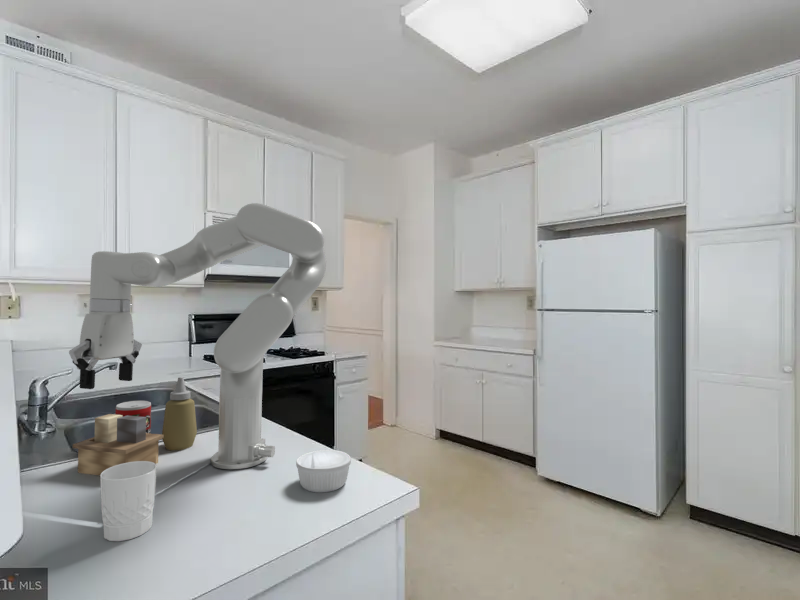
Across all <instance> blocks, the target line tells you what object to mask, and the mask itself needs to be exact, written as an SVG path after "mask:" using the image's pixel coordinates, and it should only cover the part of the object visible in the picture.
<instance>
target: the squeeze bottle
mask: <svg viewBox="0 0 800 600" xmlns="http://www.w3.org/2000/svg"><path fill="white" fill-rule="evenodd" d="M191 392H192V391H190V390H187V387H186V383H185V380H184V377H183V376H181V377H178V378H177V382H176V385H175V389H174V391H171V392H170V393H169V400H168V401H166V403H165V407H164V408H165V409H164V415H163V421H162V422H163V425H162V430H161V435H164V438H163V439H162V443H163V444H164V447H165V449H166V450H168V451H174V452H175V451H181V450H183V451H184V450H187V449H190V448H191V447H193V445H194V443H195V439H196V437H197V433H198V429H197V428H198V427H197V418H196V406H195V405H196V403H195V400H193V399H192V398H191Z"/></svg>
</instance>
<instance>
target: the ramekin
mask: <svg viewBox="0 0 800 600" xmlns="http://www.w3.org/2000/svg"><path fill="white" fill-rule="evenodd" d="M351 461H352V458H351V456H350V455H349V454H348V453H346V452H345V451H341V450H336V449H335V450H334V449H319V450H313V451H309V452H306V453H304V454H301V455H300V456H299V457H297V459H296V461H295V462H296V465H295V466H296V468H297V472H298V479H299V483H300V486H301V487H302V488H303V489H304V490H306V491H309V492H312V493H329V492H333V491H337V490H339V489H341V488H342V487H343V486H344V485H345V484H346V482H347V480H348V475H349V472H350V471H349V470H350V465H351V464H352V463H351Z"/></svg>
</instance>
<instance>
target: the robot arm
mask: <svg viewBox="0 0 800 600" xmlns="http://www.w3.org/2000/svg"><path fill="white" fill-rule="evenodd" d="M265 245H266V246H268V247H270V248H273V249H276V250H278V251H282V252H285V253H288V254H290V255H291V258H292V261H291V263H290V266H289V267H288V268H287V269H286V270H285V271H284V273H283V274H282V275H281V277H279V279H278V280H277V281H276V282H275V283H274V284H273V285H272V287H271V288H269V289H268V290H267V292H265V293H263V294H260V295H258V296H257V297H256V298H255V299H253V300H252V301H251V302H250V303H249V304H248V306H247V307H245V308H244V310H243V311H242V312H241V313H240V314H239V315H238V316H237V317H236V319H235V320H233V322H232V323H230V325H229V326H228V328H226V330H224V332H223V333H222V334H221V335H220V336H219V337H218V339H217V341H216V342H215V344H214V348H213V358H214V361H215V363H216V364H217V366H218V367H219V368H220V372H219V373H220V376H219V377H220V378H219V397H218V398H219V400H218V401H219V402H218V403H219V404H218V405H219V406H218V450H217V452H215V453H214V454H212V456H211V457H210V463H211V464H210V465H212V466H213V467H215V468H218V469H222V470H242V469H247V468H248V469H249V468H251V467H255V466H258V465H260V464H262V463H263V462H265V461H266V460H267V459H268V458H274V457H275V453H276V447H275V445H267V444H266V438H262V415H263V413H262V411H263V407H262V406H263V404H262V403H263V401H262V400H263V379H264V378H263V375H264V374H263V373H264V372H263V371H264V356H265V354H266V353H267V352H268V351H269V350H270V348H271V347H272V346H273V345H274V344H275V343H276V342H277V341H278V339H279V338H280V337H281V336H282V335H283V334H284V332H286V330H287V329H288V328H289V326H290V324H291V323H292V321H293V319H294V317H295V316H296V314H297V313H298V312H299V311H300V310H301V308H302V307H303V306H304V305H305V304H306V303H307V301H308V300H309V299H310V298H311V296H312V295H313V294H314V293H315V292H316V290H317V289H318V287H320V285H321V283H322V281H323V279H324V278H325V273H326V267H327V257H326V252H325V249H324V245H325V237H324V233H323V231H322V229H321V228H320V227H319V226H318V225H317V224H315V223H314V222H312V221H310V220H307V219H306V218H303V217H300V216H297V215H293V214H291V213H288V212H285V211H283V210H280V209H277V208H274V207H272V206H268V205H267V204H263V203H258V202H251V203H249V204H248V203H247V204H246V205H244V206H242V207H241V208H240V209H239V210H238V211H237V214H236V216H232V217H230V218H228V219H225V220H223V221H220V222H218V223H215V224H212V225H209V226H206V227H204V228H202V229H200V230H199V231H198V232H197V233H196V234H195V236H194V237H193V238H192V239H191V240H190V241H189V242H187V243H186V244H184V245H181V246H179V247H178V248H175V249H172V250H169V251H168V252H167V251H166V252H164V253H162V254H155V253H152V252H144V251H143V252H138V251H137V252H127V253H124V252H119V251H105V250H103V251H96V252H94V253H93V254H92V255H91V261H90V262H91V263H90V282H89V283H90V284H89V285H90V286H89V287H90V288H89V306H88V307H89V311H88V313H85V315H84V318H83V320H82V321H83V322H82V325H81V329H80V337H79V344H77V345H76V346H75V347H72V348H71V349H70V350H69V351H68V354H69V356H70V358H71V361H72V362H71V363H72V364H74V365H75V366H76V369H77V370H79V388H80V389H85V390H93V389H94V388H95V386H96V370H95V369H94V367H95V366H96V364H97V363H98V361H103V360H112V359H118V358H119V360H120V361H121V362H119V365H118V380H119V381H124V382H130V381H131V382H132V381H133V374H134V373H133V370H134V368H133V367H134V364H135V363H136V359H137V358H138V356H139V355H140V354H139V352H140V351H141V348H142V346H143V343H142V342H140V341H138V340H136V339H134V326H133V325H134V324H133V317H132V314H131V308H133V304H132V303H131V299H132V298H131V296H132V285H136V286H141V287H151V288H152V287H153V288H154V287H156V288H160V287H161V288H162V287H166V286H169V285H171V284H175V283H176V282H180V281H183V280H184V279H187V278H190V277H191V276H193V275H197V274H198V273H201V272H202V271H205V270H207V269H209V268H212V267H214V266H216V265H218V264H220V263H222V262H224V261H227V260H229V259H232V258H234V257H237V256H239V255H242V254H244V253H247V252H250V251H252V250H254V249H257V248H259V247H263V246H265Z"/></svg>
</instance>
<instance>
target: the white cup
mask: <svg viewBox="0 0 800 600" xmlns="http://www.w3.org/2000/svg"><path fill="white" fill-rule="evenodd" d="M157 470H158V464H157V463H156V464H155V463H153V462H149V461H135V462H128V463H123V464H119V465H115V466H113V467H110V468H108V469H106V470H104V471H103V472H102V473H101V474H100V475H99V476H100V477H99V479H100V503H101V518H102V519H101V520H102V524H103V538H104V539H105V540H107V541H109V542H124V541H129V540H132V539H135V538H138V537H140V536H142V535H144V534H146V532H148V531H150V529H151V527H152V526H153V516H154V515H153V514H154V513H153V512H154V511H153V510H154V507H155V497H156V486H157V473H158V472H157Z"/></svg>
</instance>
